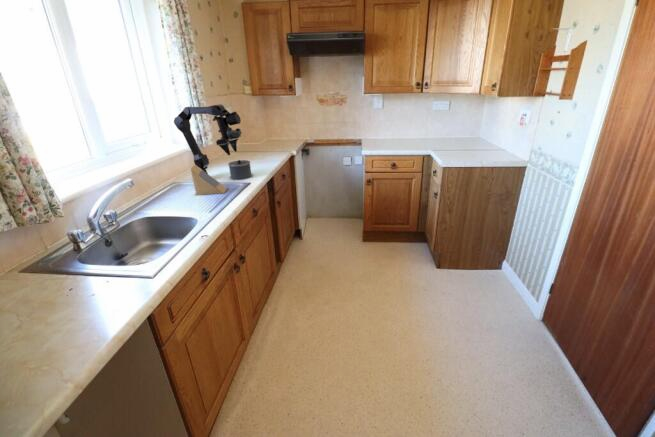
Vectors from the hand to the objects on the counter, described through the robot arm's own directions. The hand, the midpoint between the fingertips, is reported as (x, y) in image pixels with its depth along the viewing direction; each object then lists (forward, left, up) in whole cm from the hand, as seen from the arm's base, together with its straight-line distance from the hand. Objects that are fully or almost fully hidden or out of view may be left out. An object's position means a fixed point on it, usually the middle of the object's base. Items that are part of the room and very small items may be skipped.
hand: (232, 153), depth 192 cm
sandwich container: (-3, -22, -17) cm, 28 cm away
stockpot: (-1, +8, -17) cm, 18 cm away
